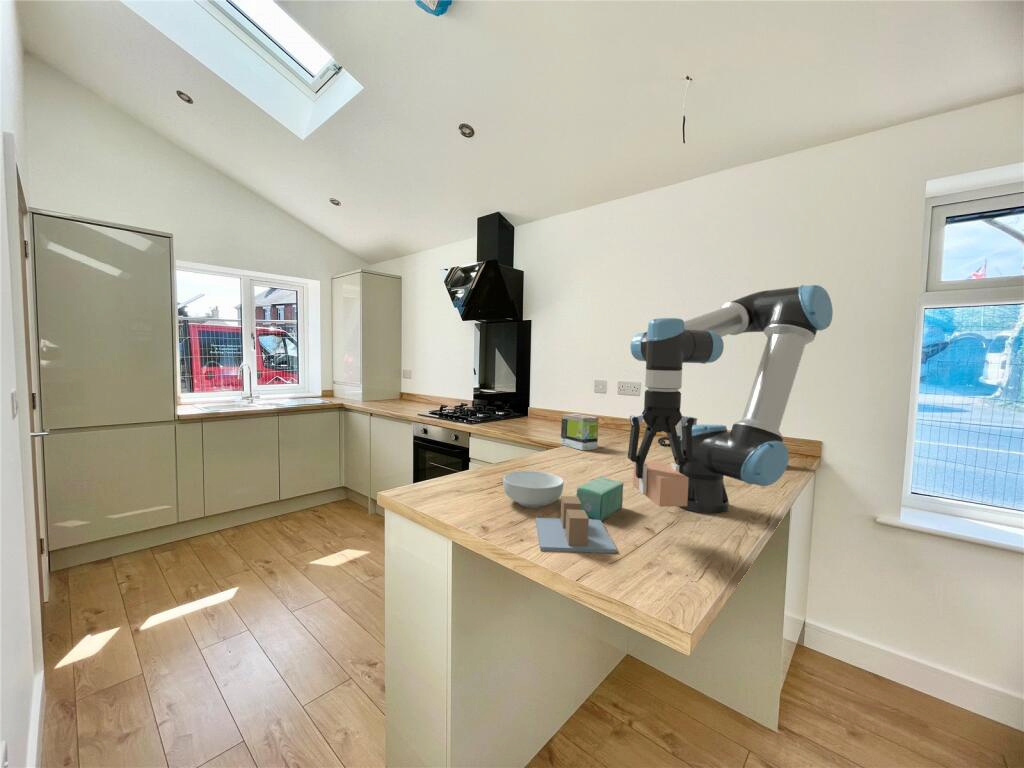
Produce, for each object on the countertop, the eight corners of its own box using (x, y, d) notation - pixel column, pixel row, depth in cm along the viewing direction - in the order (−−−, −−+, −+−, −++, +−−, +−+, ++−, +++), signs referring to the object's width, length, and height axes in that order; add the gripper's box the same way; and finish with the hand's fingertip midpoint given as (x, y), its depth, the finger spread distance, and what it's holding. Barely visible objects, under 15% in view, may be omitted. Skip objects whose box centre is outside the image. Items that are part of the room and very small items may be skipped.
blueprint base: (599, 522, 103) (601, 496, 103) (616, 552, 88) (618, 521, 87) (535, 520, 103) (536, 493, 103) (540, 550, 87) (541, 518, 87)
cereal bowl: (547, 519, 105) (548, 491, 104) (491, 505, 113) (491, 480, 112) (571, 500, 120) (572, 476, 119) (520, 489, 128) (521, 467, 127)
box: (574, 514, 109) (576, 486, 108) (598, 502, 119) (599, 476, 119) (600, 522, 104) (601, 493, 104) (622, 508, 115) (624, 481, 114)
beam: (657, 485, 100) (658, 460, 100) (687, 506, 86) (688, 477, 86) (632, 485, 100) (633, 460, 99) (659, 506, 86) (660, 478, 85)
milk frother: (699, 451, 195) (701, 419, 194) (665, 449, 195) (666, 418, 194) (687, 444, 209) (688, 415, 208) (655, 443, 209) (657, 414, 208)
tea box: (598, 449, 191) (599, 417, 190) (582, 451, 185) (583, 418, 184) (575, 442, 203) (576, 412, 203) (559, 444, 198) (561, 413, 197)
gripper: (698, 389, 95) (693, 488, 97) (614, 387, 95) (611, 486, 97) (714, 391, 88) (709, 499, 89) (623, 390, 88) (619, 497, 89)
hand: (658, 492), depth 93 cm, fingers closed on beam, 6 cm apart
